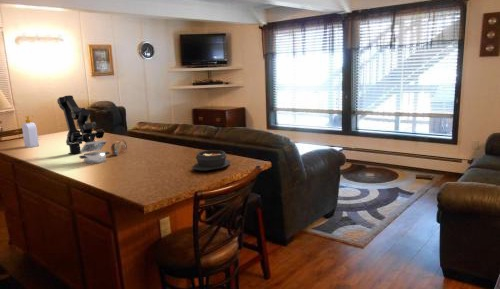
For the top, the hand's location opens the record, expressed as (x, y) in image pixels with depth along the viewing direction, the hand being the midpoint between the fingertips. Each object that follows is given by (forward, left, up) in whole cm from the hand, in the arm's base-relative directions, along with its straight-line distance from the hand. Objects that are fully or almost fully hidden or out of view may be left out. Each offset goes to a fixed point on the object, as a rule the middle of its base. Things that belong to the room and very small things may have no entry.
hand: (92, 146), depth 226 cm
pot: (+2, -1, -9) cm, 10 cm away
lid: (+1, -1, -1) cm, 2 cm away
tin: (-1, +21, -10) cm, 24 cm away
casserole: (+76, +13, -10) cm, 78 cm away
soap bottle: (-86, +17, -10) cm, 88 cm away
